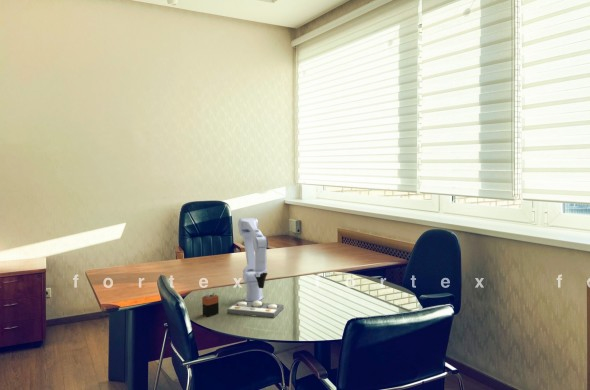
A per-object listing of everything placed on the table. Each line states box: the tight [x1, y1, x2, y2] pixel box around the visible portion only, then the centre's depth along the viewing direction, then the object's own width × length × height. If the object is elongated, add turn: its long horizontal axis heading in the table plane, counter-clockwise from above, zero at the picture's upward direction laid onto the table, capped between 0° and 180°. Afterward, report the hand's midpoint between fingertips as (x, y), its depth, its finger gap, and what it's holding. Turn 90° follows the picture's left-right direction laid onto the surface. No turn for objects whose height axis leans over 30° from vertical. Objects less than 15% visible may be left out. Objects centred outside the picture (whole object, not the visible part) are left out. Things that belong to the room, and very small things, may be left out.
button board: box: [227, 300, 284, 319], centre depth 235 cm, size 14×24×2 cm, turn 73°
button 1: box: [238, 301, 248, 306], centre depth 239 cm, size 4×4×2 cm
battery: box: [201, 292, 220, 318], centre depth 230 cm, size 4×7×10 cm, turn 135°
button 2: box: [253, 300, 263, 308], centre depth 237 cm, size 4×4×2 cm
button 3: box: [268, 303, 277, 309], centre depth 235 cm, size 4×4×2 cm
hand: (261, 287), depth 239 cm, fingers closed
